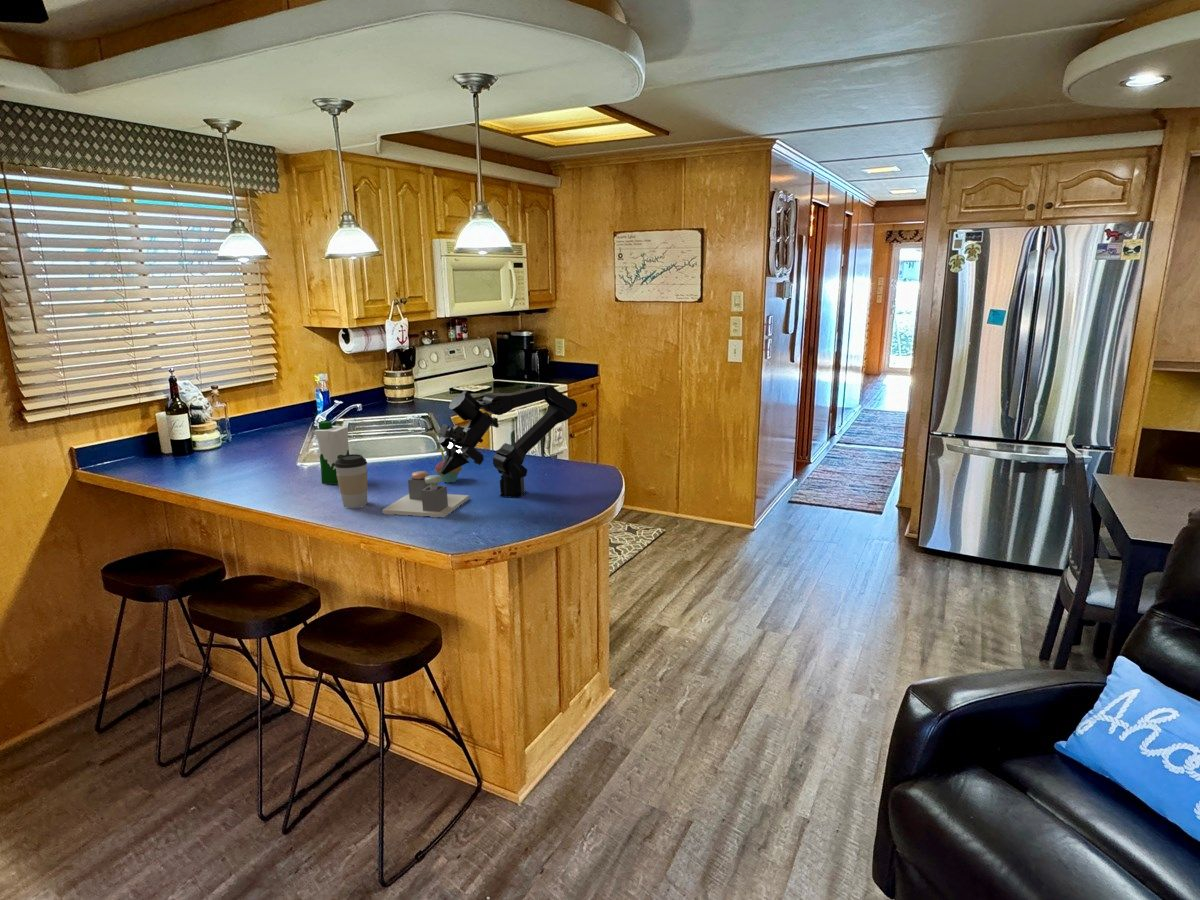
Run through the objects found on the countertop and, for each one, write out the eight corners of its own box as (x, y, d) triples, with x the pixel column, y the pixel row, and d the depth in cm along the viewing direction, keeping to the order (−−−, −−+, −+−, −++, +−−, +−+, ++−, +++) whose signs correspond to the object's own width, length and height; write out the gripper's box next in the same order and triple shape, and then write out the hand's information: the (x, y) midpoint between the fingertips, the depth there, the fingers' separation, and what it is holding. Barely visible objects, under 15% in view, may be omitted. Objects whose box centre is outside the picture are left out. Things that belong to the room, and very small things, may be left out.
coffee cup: (360, 497, 211) (355, 450, 207) (377, 503, 205) (372, 454, 202) (333, 505, 204) (327, 456, 201) (350, 511, 199) (344, 461, 195)
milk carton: (332, 476, 234) (326, 419, 229) (356, 478, 232) (350, 419, 228) (317, 484, 226) (310, 424, 221) (342, 485, 224) (335, 425, 219)
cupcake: (436, 485, 222) (433, 449, 219) (435, 478, 230) (432, 443, 227) (463, 483, 224) (461, 447, 221) (461, 476, 232) (459, 441, 229)
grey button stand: (469, 499, 208) (467, 476, 206) (444, 518, 192) (442, 493, 190) (411, 495, 212) (409, 473, 211) (382, 513, 196) (380, 489, 195)
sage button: (446, 498, 198) (444, 475, 196) (438, 503, 193) (436, 480, 192) (431, 497, 199) (429, 474, 197) (423, 502, 194) (421, 479, 193)
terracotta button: (432, 493, 208) (430, 471, 207) (425, 498, 204) (423, 475, 202) (418, 492, 210) (416, 470, 208) (410, 497, 205) (408, 475, 204)
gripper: (441, 408, 202) (408, 451, 198) (471, 418, 188) (436, 464, 184) (467, 431, 209) (435, 473, 205) (498, 442, 194) (464, 487, 190)
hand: (442, 473), depth 196 cm, fingers closed
